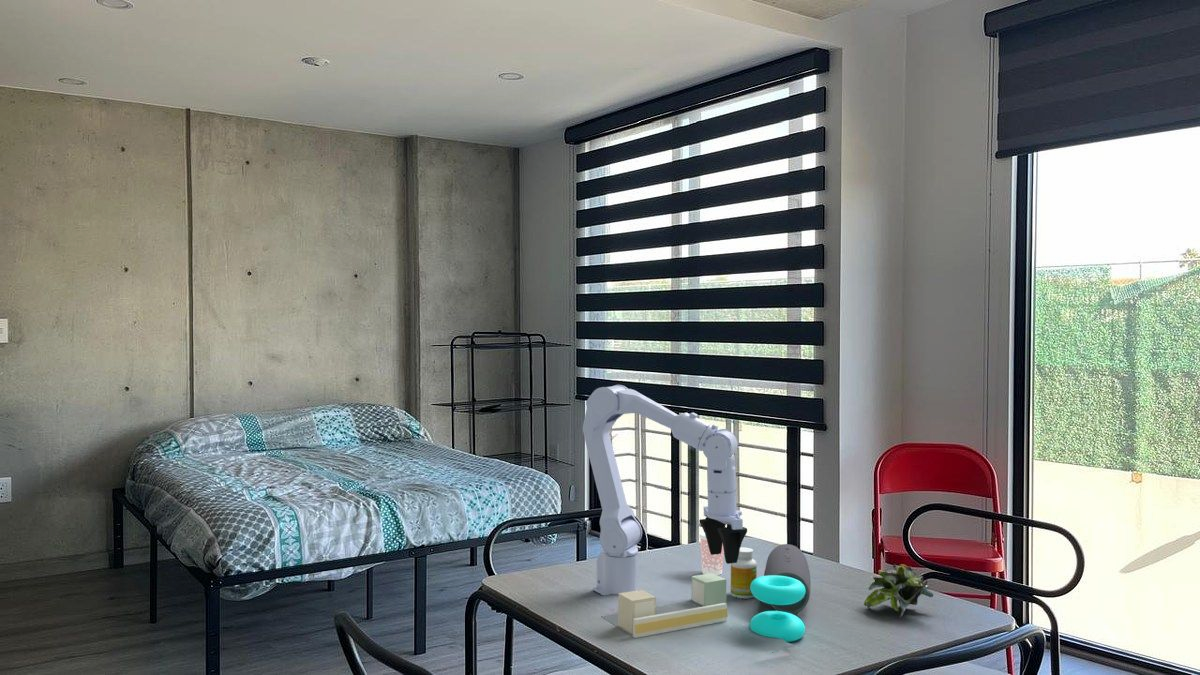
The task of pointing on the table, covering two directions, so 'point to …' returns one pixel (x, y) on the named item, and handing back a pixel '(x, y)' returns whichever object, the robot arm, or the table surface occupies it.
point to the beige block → (634, 607)
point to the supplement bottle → (743, 574)
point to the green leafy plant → (897, 588)
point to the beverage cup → (710, 558)
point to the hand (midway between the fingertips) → (723, 558)
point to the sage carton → (708, 589)
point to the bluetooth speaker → (789, 572)
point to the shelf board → (674, 618)
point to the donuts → (778, 593)
